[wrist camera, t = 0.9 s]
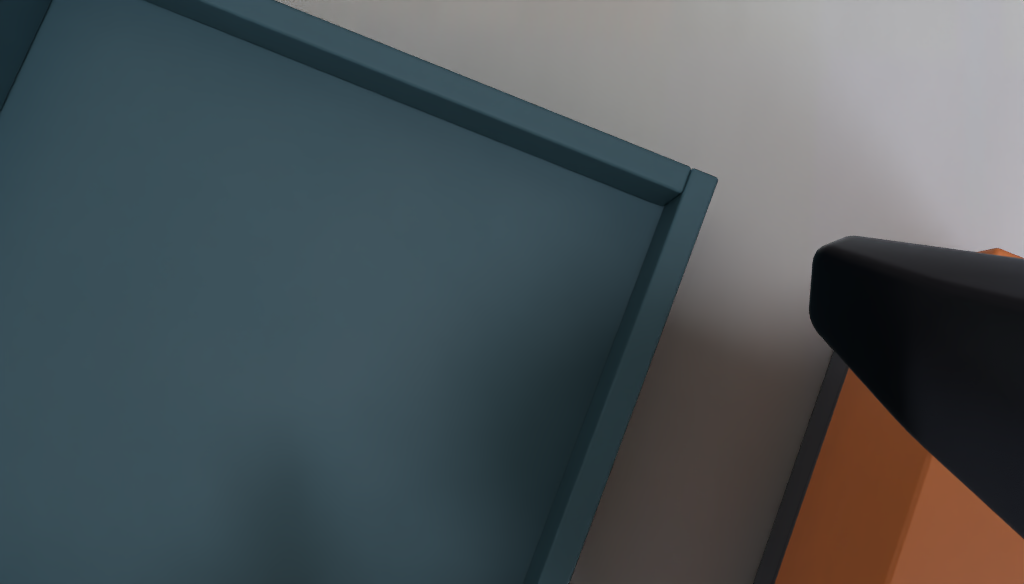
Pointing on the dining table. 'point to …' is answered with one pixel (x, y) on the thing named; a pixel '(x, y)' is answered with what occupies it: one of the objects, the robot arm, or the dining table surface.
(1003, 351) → the robot arm
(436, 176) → the dark teal tray
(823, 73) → the dining table surface
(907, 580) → the eraser
